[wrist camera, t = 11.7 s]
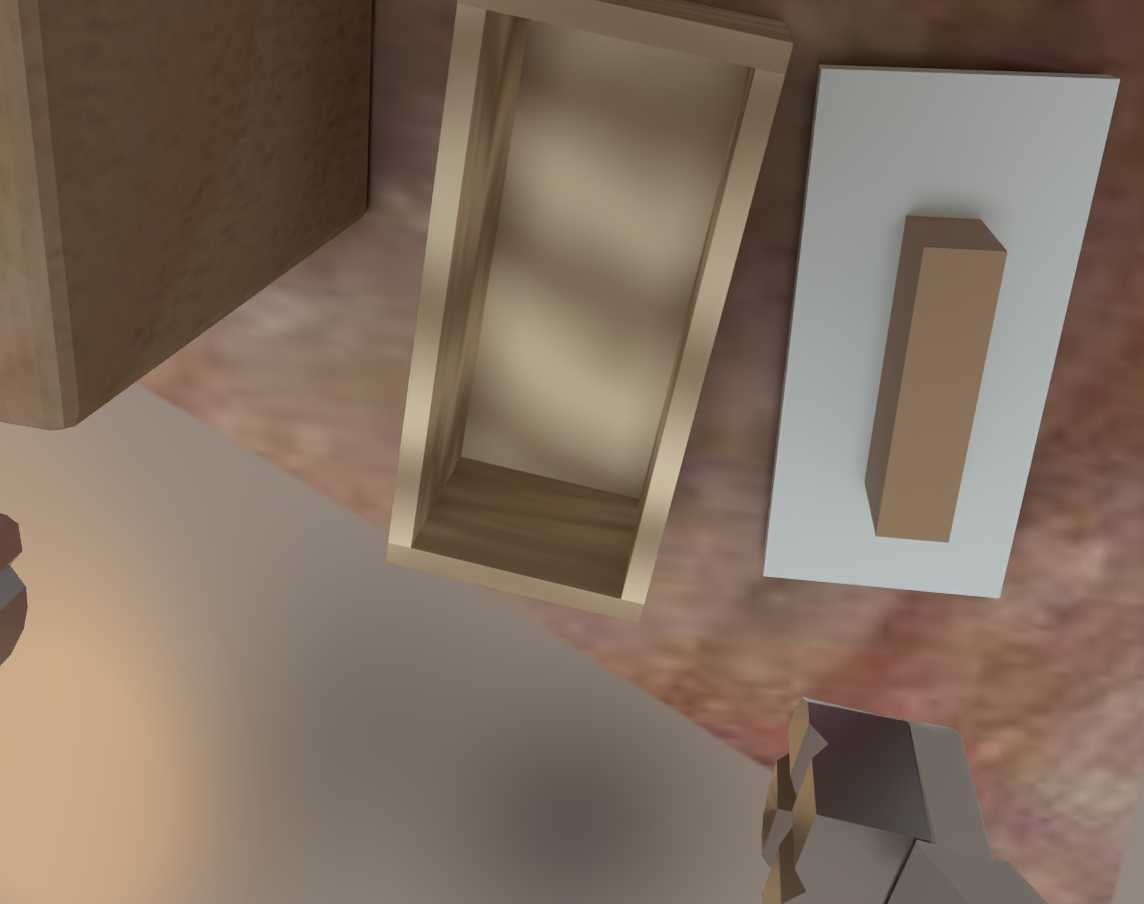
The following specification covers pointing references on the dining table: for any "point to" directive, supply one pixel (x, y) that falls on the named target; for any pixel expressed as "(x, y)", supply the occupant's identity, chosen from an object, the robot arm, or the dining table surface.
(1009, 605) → the dining table surface
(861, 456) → the lid
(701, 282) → the light wooden open box
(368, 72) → the wooden block
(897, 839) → the robot arm
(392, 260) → the dining table surface
